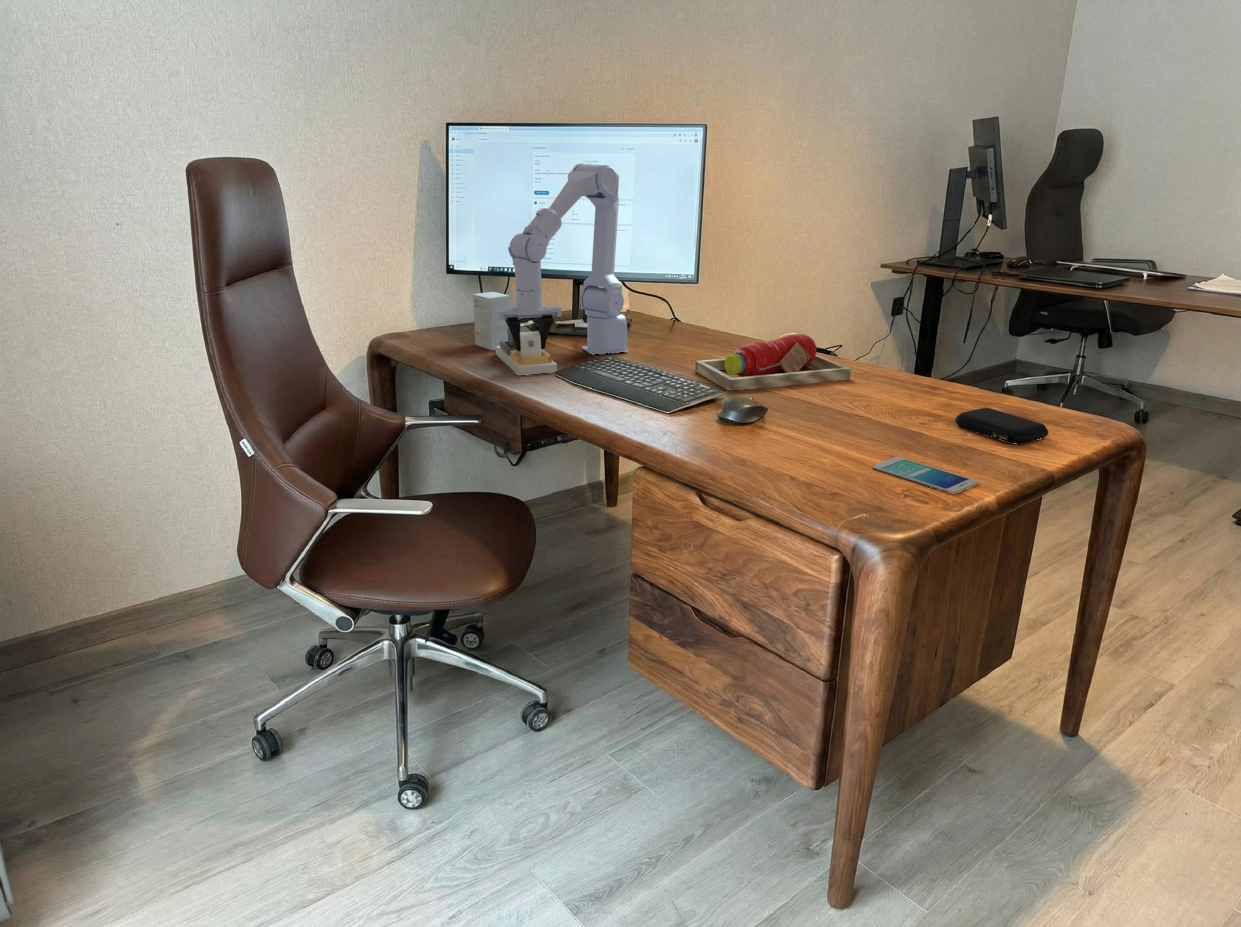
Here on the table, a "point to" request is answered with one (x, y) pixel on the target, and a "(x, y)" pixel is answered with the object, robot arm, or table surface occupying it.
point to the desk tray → (775, 375)
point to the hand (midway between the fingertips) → (530, 349)
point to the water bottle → (772, 356)
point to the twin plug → (510, 338)
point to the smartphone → (925, 475)
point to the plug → (530, 344)
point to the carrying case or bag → (1001, 425)
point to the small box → (490, 319)
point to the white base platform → (525, 360)
